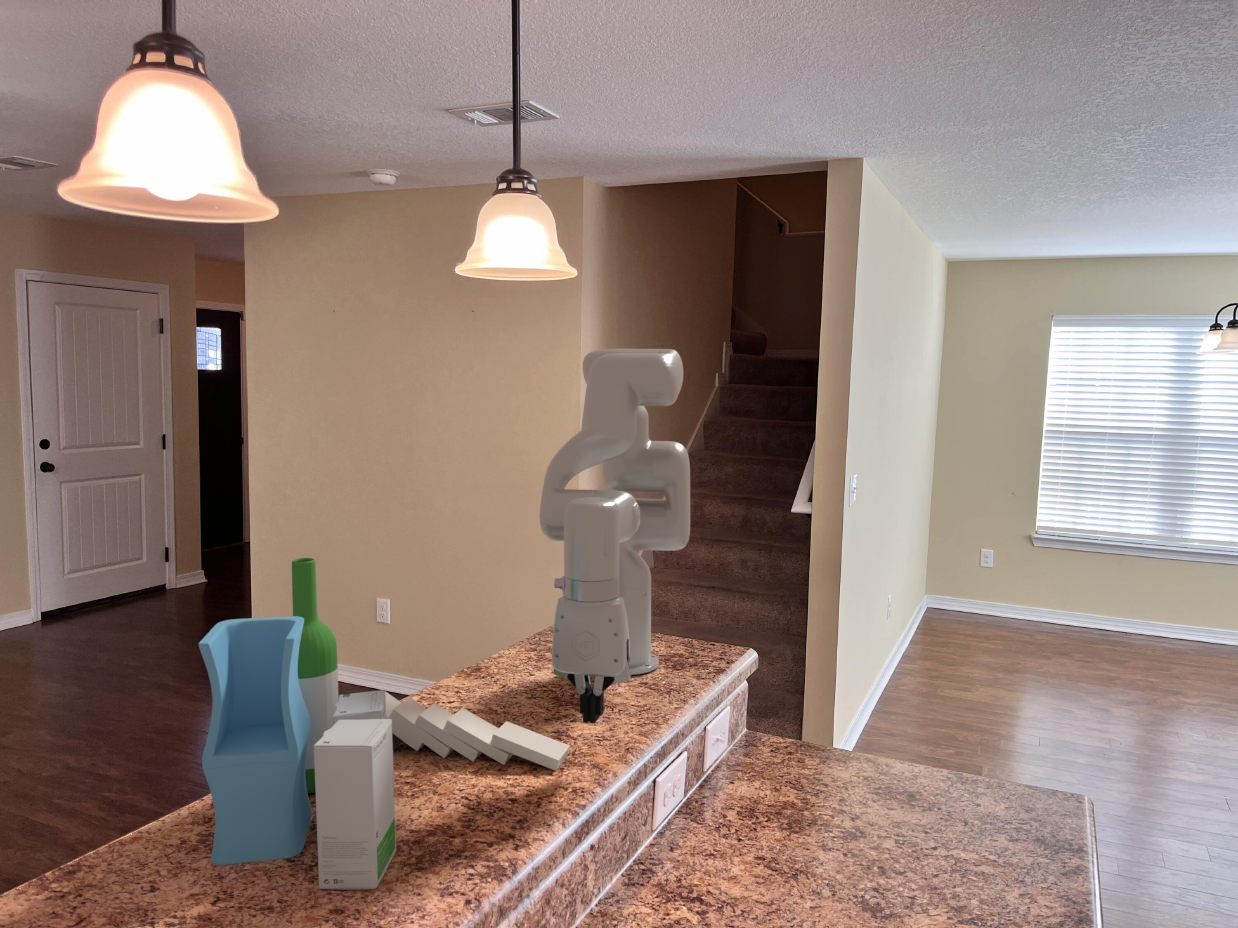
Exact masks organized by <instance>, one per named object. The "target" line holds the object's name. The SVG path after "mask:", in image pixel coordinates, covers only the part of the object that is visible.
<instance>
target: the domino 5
mask: <svg viewBox="0 0 1238 928" xmlns="http://www.w3.org/2000/svg"><path fill="white" fill-rule="evenodd" d="M498 728H499V729H498V730H497V731H496V732H495V733H494V734H493V736H492V740H491V744H490V745H492V746H495V747H497V748H500V749H502V750H505V751H507V752H510V753H512V754H513V755H515V756H517V757H520V758H522V759H525V760H527V761H530V762H532V763H534V764H537V765H541V766H543V767H545V768H548V769H550V770H553V771H555V772H556V771H558V769H559V768H560V766H561V765H562V764H563V762H564V761H565V760H566V759H567V757H568V755H569V751H570V748H571V746H570V745H568V744H566V743H564V742H562V741H558V740H557V739H554V738H550V737H549V736H546V735H543V734H541V733H538V732H536V731H533V730H530V729H528V728H526V727H523V726H520V725H517V724H515V723H513V722H510V721H507V720H506V721H505V722H504V723H503V724H502V725H501V726H500V727H498Z"/></svg>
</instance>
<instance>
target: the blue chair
mask: <svg viewBox="0 0 1238 928" xmlns="http://www.w3.org/2000/svg"><path fill="white" fill-rule="evenodd" d="M303 624H304V618H303V617H299V616H293V615H292V616H289V615H288V616H274V617H273V616H272V617H271V616H270V617H255V618H254V617H251V618H249V617H248V618H234V619H226V620H222V621H219V622H217V623H216V624H214V626H213V627H212V628H211V629H210V630H209V632H207V633H206V635H205V636H204V637H203V638H202V639H201V640H200V641H199V642H198V648H199V650H200V654H201V656H202V659H203V662H204V665H205V668H206V671H207V674H208V678H209V682H210V683H209V684H210V688H211V689H210V690H211V696H212V698H211V699H212V705H211V706H212V707H211V719H210V723H209V724H210V725H209V729H208V733H207V738H206V741H205V746H204V748H203V751H202V752H203V753H202V756H201V762H202V771H203V773H204V776H205V779H206V781H207V785H208V788H209V791H210V794H211V797H212V803H213V808H214V815H215V816H214V817H215V818H214V819H215V823H214V824H215V826H214V838H213V845H212V850H211V857H210V861H211V863H213V864H214V865H219V866H220V865H234V864H244V863H253V862H255V863H256V862H265V861H274V860H283V859H290V858H293V857H296V856H297V855H299V854H301V852H303V849H304V847H305V844H306V841H307V837H308V835H309V830H310V828H311V827H310V826H311V822H312V819H313V817H314V813H313V810H312V806H311V803H310V798H309V793H307V787H306V777H305V767H306V753H307V746H308V739H309V733H310V728H311V725H310V715H309V712H308V710H307V707H306V705H305V702H304V700H303V697H302V694H301V690H300V686H299V681H298V654H299V646H300V640H301V635H302V630H303Z"/></svg>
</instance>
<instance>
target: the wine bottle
mask: <svg viewBox="0 0 1238 928" xmlns="http://www.w3.org/2000/svg"><path fill="white" fill-rule="evenodd" d="M316 570H317V569H316V560H315V559H314V558H311V557H302V558H296V559H293V560H292V561H291V587H292V588H291V589H292V590H291V591H292V598H291V599H292V616H299V617H303V618H304V624H303V630H302V635H301V640H300V646H299V654H298V681H299V686H300V690H301V694H302V697H303V700H304V702H305V705H306V707H307V710H308V712H309V715H310V725H311V728H310V733H309V739H308V746H307V753H306V767H305V777H306V787H307V793H308V794H314V793H316V790H315V766H314V745H315V744H316V743H317V742H318V741H319V740H320V739H321V738H322V737H323V733H324V732H325V731H327V730H329V729H330V728H331V727H332V726H333V715H334V713H335V710H336V706H335V704H336V703H337V702H338V698H339V675H338V674H339V671H338V670H339V669H338V666H339V665H338V645H337V640H336V637H335V634H334V633H333V631H332V630H331V628H330V627H329V626H328V625H327V624H325V623H324V622H322V621H321V620H320V619H319V616H318V601H317V599H318V597H317V596H318V595H317V571H316Z"/></svg>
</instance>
